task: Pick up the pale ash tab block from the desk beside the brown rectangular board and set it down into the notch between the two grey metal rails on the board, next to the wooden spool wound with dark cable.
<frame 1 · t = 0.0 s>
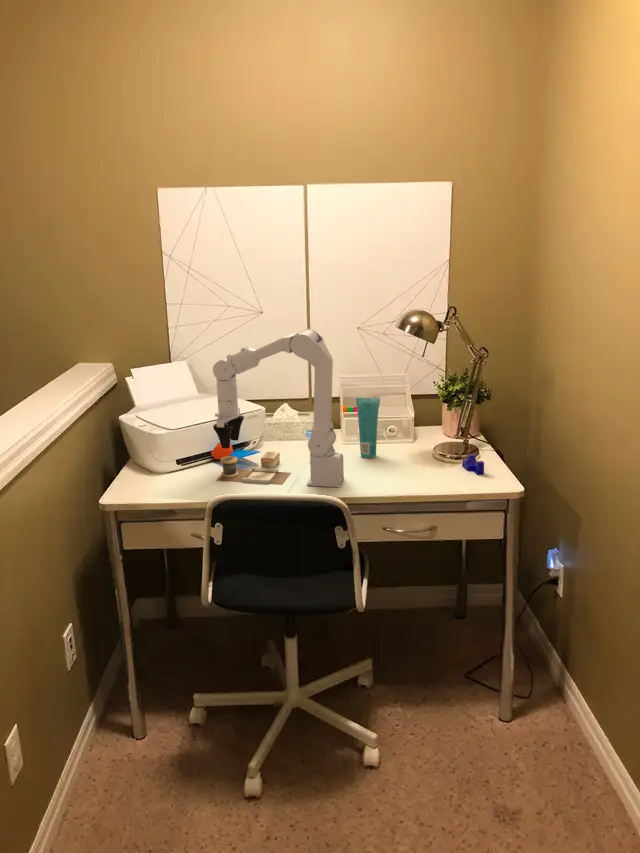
hand: (230, 444, 217), 10 cm above the table, tool pointing down, fingers open, 7 cm apart
tab block: (270, 470, 224), on the table
tube: (368, 456, 235), on the table
spool: (229, 474, 217), resting on brown rectangular board
brown rectangular board: (254, 481, 215), on the table
clementine: (221, 462, 233), on the table
cable holder: (472, 471, 220), on the table
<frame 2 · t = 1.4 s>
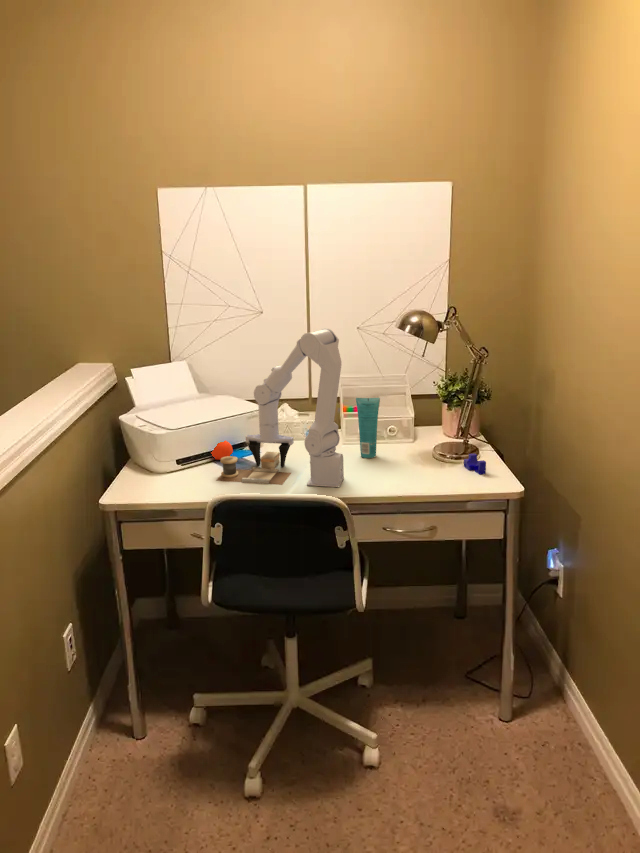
hand: (270, 465, 224), 1 cm above the table, tool pointing down, fingers open, 7 cm apart
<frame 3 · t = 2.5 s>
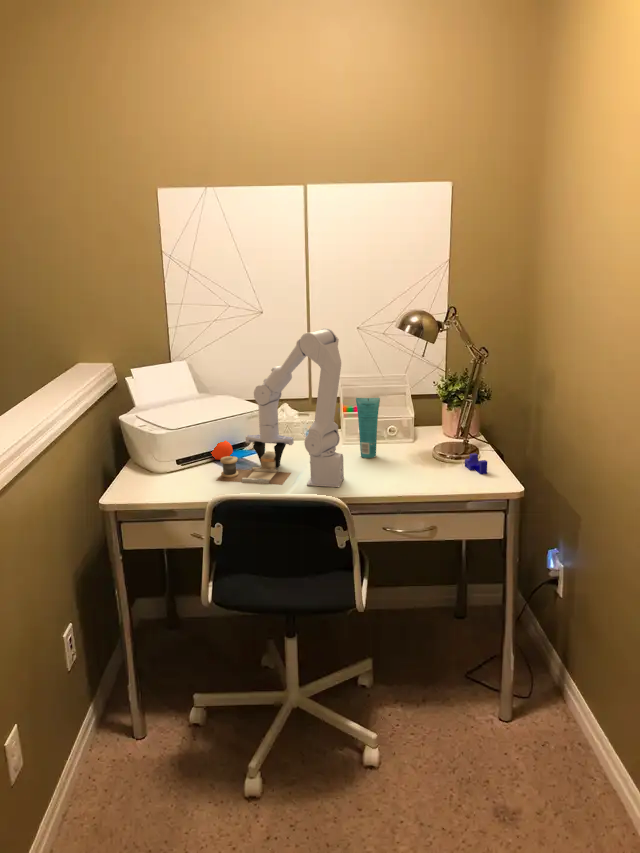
hand: (270, 465, 224), 1 cm above the table, tool pointing down, fingers closed on tab block, 4 cm apart
tab block: (270, 470, 224), on the table, touching gripper
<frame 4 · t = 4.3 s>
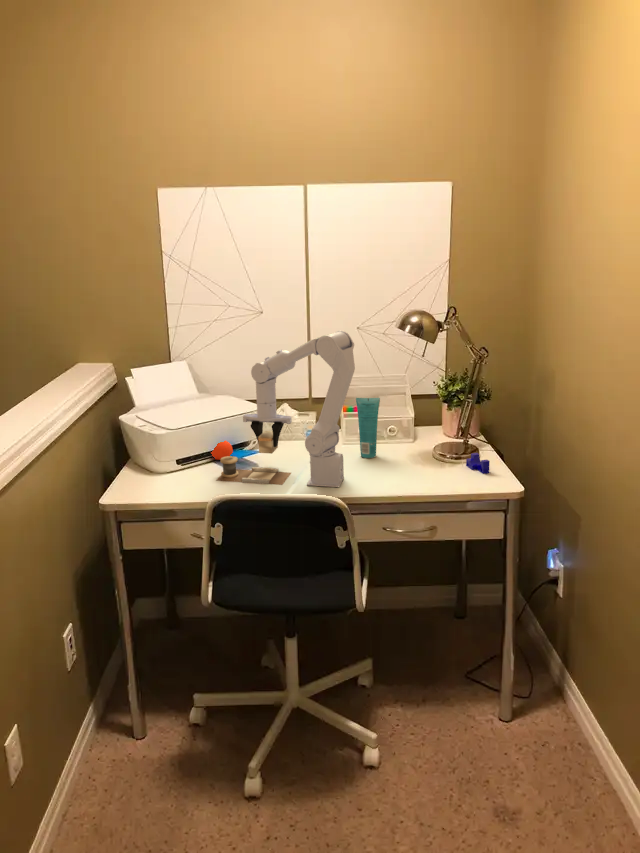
hand: (268, 445, 221), 8 cm above the table, tool pointing down, fingers closed on tab block, 4 cm apart
tab block: (268, 450, 221), point 7 cm above the table, touching gripper
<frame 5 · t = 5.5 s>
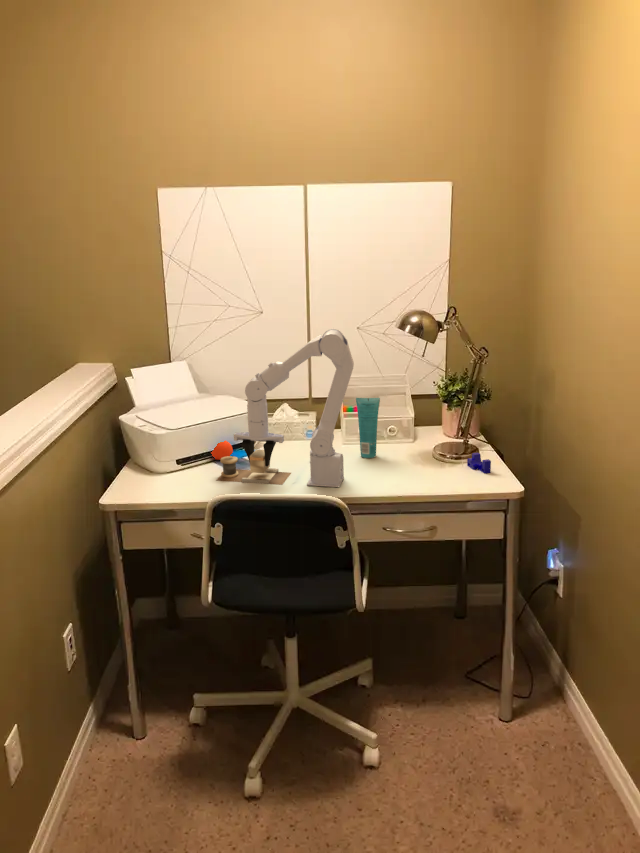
hand: (260, 464, 213), 5 cm above the table, tool pointing down, fingers closed on tab block, 4 cm apart
tab block: (260, 469, 214), point 4 cm above the table, touching gripper
when the fingers open (4 cm above the table, at t = 6.5 s): tab block drops 1 cm, resting on brown rectangular board.
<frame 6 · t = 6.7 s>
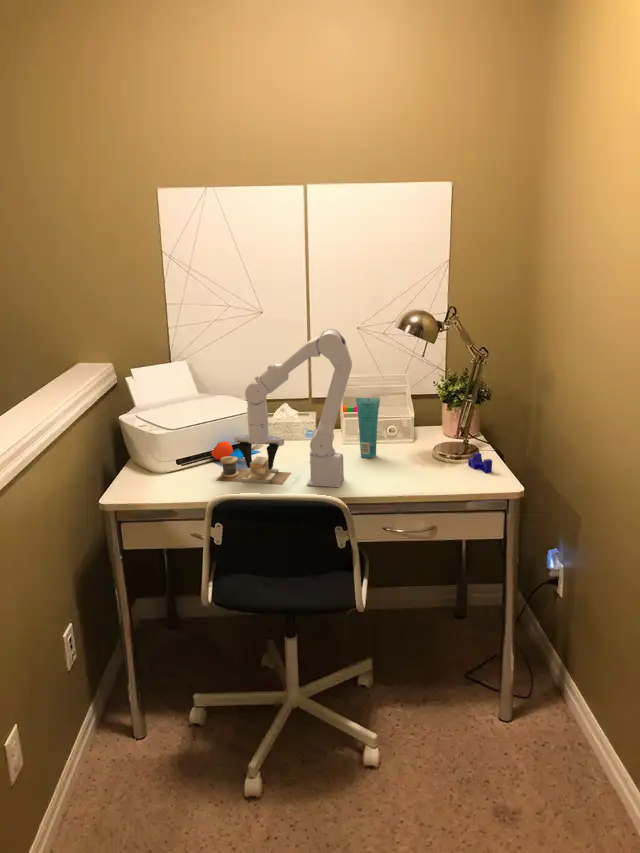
hand: (260, 467, 214), 4 cm above the table, tool pointing down, fingers open, 6 cm apart
tab block: (260, 476, 215), point 2 cm above the table, touching brown rectangular board
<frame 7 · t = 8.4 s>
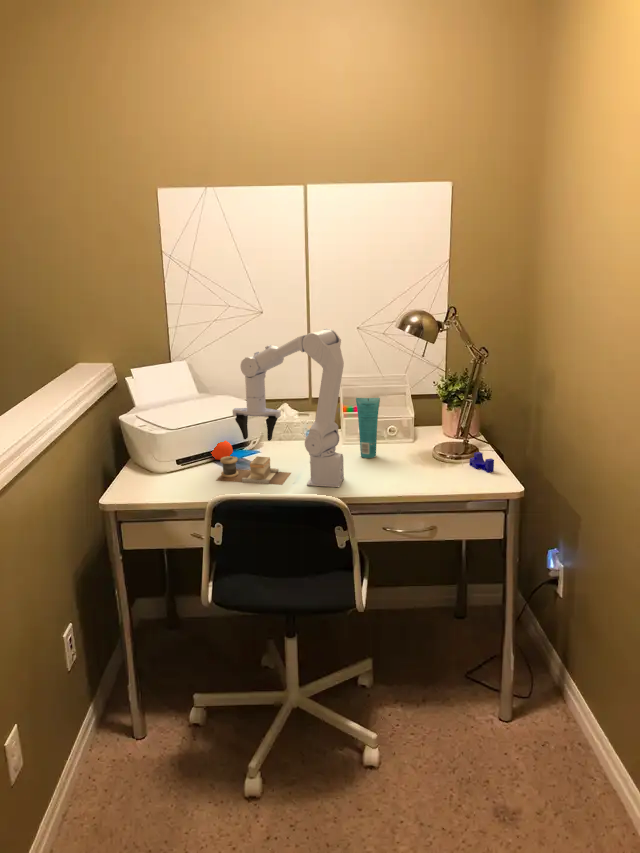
hand: (257, 439, 223), 9 cm above the table, tool pointing down, fingers open, 7 cm apart
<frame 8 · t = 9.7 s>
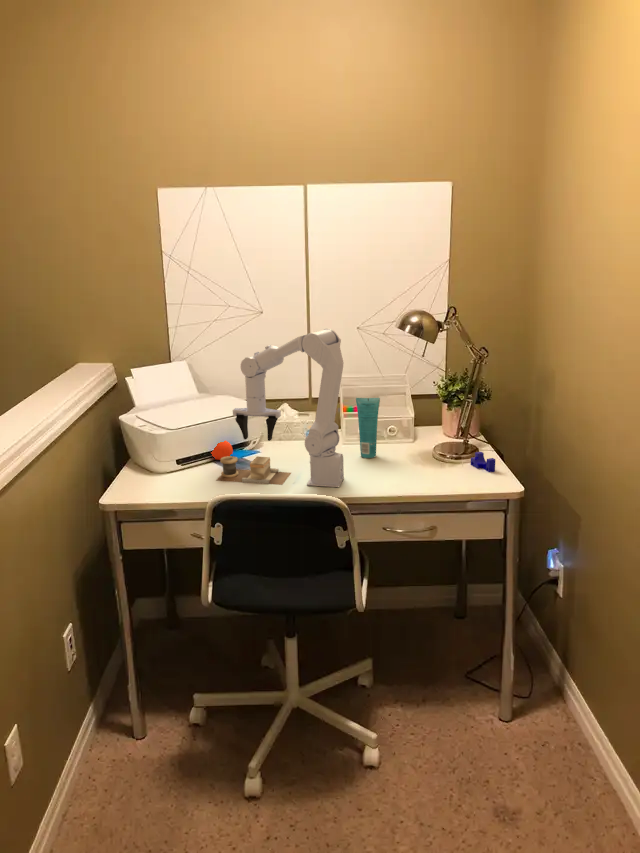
hand: (257, 439, 223), 9 cm above the table, tool pointing down, fingers open, 7 cm apart
at the end: tab block 0.2 cm from the target spot on the brown rectangular board, point 1.6 cm above the brown rectangular board's base; tab block tilted 0°; the gripper is holding nothing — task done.
